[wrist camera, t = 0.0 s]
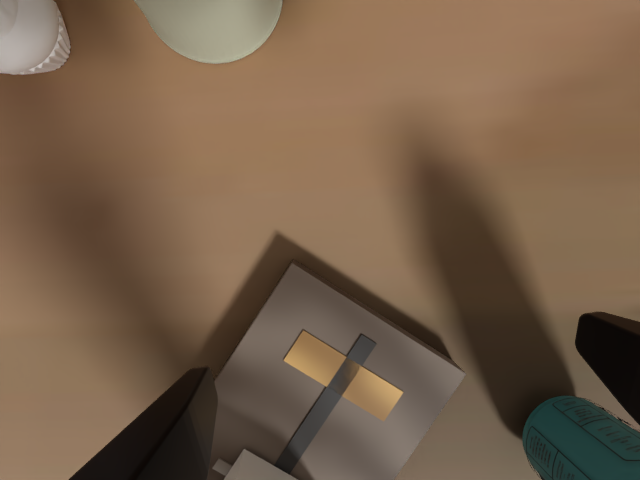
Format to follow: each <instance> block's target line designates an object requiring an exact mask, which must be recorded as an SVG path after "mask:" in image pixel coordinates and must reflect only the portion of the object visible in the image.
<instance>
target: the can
mask: <svg viewBox="0 0 640 480" xmlns="http://www.w3.org/2000/svg"><path fill="white" fill-rule="evenodd" d="M134 1H135V3H136V4H137V5H138V7H139V8H140V9H141V11H142V12H143V13H144V15H145V16H146V18H147V20H148V22H149V23H150V25H151V27H152V28H153V30H154V31H155V33H156V34H157V35H158V36H159V37H160V38H161V39H162V41H163V42H164V43H165V44H167V45H168V46H169V47H170V48H172V49H173V50H174V51H176V52H177V53H179V54H181V55H183V56H185V57H187V58H189V59H192V60H195V61H199V62H203V63H212V64H220V63H228V62H232V61H236V60H239V59H241V58H243V57H245V56H247V55H249V54H251V53H252V52H254V51H255V50H256V49H258V48H259V47H260V46H261V45H262V44H263V43H264V42H265V41H266V40H267V39H268V37H269V36H270V34H271V33H272V31H273V30H274V28H275V26H276V24H277V21H278V19H279V16H280V12H281V8H282V1H283V0H134Z"/></svg>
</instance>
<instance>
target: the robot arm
mask: <svg viewBox="0 0 640 480" xmlns="http://www.w3.org/2000/svg"><path fill="white" fill-rule="evenodd" d="M575 346H576V349H577V351H578V352H579V354H580V355H581V356H582V357H583V359H584V360H585V361H586V362H587V364H588V365H589V366H590V367H591V369H592V370H593V371H594V372H595V373H596V375H597V376H598V377H599V378H600V380H601V381H602V382H603V383H604V385H605V386H606V387H607V388H608V389H609V391H610V392H611V393H612V394H613V396H614V397H615V398H616V399H617V401H618V402H619V403H620V404H621V405H622V406H623V408H624V409H625V410H626V411H627V412H628V413H629V414H630V415H631V417H632V418H633V419H634V420H635V421H636V422H637V423H638V424H639V425H640V322H638V321H634V320H631V319H627V318H623V317H619V316H616V315H612V314H608V313H605V312H592V313H585V314H583V315H581V317H580V318H579V322H578V328H577V333H576V339H575ZM217 406H218V395H217V390H216V387H215V383H214V379H213V375H212V372H211V369H210V368H209V367H207V366H204V367H197V368H192V369H190V370H189V371H187V372H186V373H185V374H184V375H183V376H182V377H181V378H180V379H179V380H178V381H176V382H175V383H174V384H173V385H172V386H171V387H170V388H169V389H168V390H167V391H165V392H164V393H163V394H162V395H161V396H160V397H159V398H158V399H157V400H156V401H154V402H153V403H152V404H151V405H150V406H149V407H148V408H147V409H146V410H145V411H143V412H142V413H141V414H140V415H139V416H138V417H137V418H136V419H135V420H134V421H132V422H131V423H130V424H129V425H128V426H127V427H126V428H125V429H124V430H123V431H121V432H120V433H119V434H118V435H117V436H116V437H115V438H114V439H113V440H112V441H110V442H109V443H108V444H107V445H106V446H105V447H104V448H103V449H102V450H101V451H99V452H98V453H97V454H96V455H95V456H94V457H93V458H92V459H91V460H90V461H88V462H87V463H86V464H85V465H84V466H83V467H82V468H81V469H80V470H79V471H77V472H76V473H75V474H74V475H73V476H72V477H71V478H70V479H69V480H207V477H208V472H209V465H210V459H211V451H212V444H213V436H214V429H215V421H216V414H217Z"/></svg>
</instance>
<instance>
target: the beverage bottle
mask: <svg viewBox="0 0 640 480" xmlns="http://www.w3.org/2000/svg"><path fill="white" fill-rule="evenodd" d="M587 400H588V399H587ZM587 400H585V398H583V399H582V398H578V397H574V396H558V397H554V398H551V399H548V400H546V401H544V402H543V403H541V404H540V405H539V406H537V407H536V408H535V409H534V410H533V412H532V413H531V414H530V416H529V417H528V419H527V421H526V423H525V426H524V430H523V447H524V450H525V453H526V455H527V458H528V459H529V460H528V461H530V463H531V465H532V466H533V468H534V469H535V470H536V471H537V472H538V473H539V475H540V477H541V479H542V480H640V432H639V431H638V432H637V430H636V431H635V430H634V428H633V429H632V428H631V427H629V426H628V425H626V424H624V423H623V422H622V421H623V420H622V421H621V419H620V417H619V418H618V417H617V416H616V417H617V418H618V419H619V420H618V419H616V418H615V417H613V415H612V414H611V415H610V414H609V413H608V412H607V411H608V410H607V411H606V412H605V410H604V407H602V406H601V407H602V408H601V407H598V406H596V405H594V404H596V403H594V404H593V402H592V403H591V402H589V401H587ZM597 405H598V404H597ZM599 406H600V405H599ZM602 409H603V410H602ZM611 413H612V412H611ZM614 415H615V414H614ZM624 422H625V421H624ZM625 423H627V424H629V423H628V422H625ZM630 426H631V425H630ZM635 428H636V427H635ZM530 463H529V464H530ZM531 465H530V466H531ZM531 468H532V467H531ZM533 471H534V470H533ZM537 472H536V473H537ZM537 475H538V474H537Z"/></svg>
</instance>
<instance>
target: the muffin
mask: <svg viewBox="0 0 640 480" xmlns="http://www.w3.org/2000/svg"><path fill="white" fill-rule="evenodd" d="M70 48H71V46H70V40H69V36H68V33H67V30H66V27H65V24H64V21H63V18H62V15H61V12H60V11H59V9H58V6H57V4H56V2H55V1H54V0H0V73H5V74H12V75H16V74H21V75H26V74H34V73H43V72H49V71H54V70H56V69H57V68H60V67H61V65H64V62H67V58H69V53H70Z"/></svg>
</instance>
